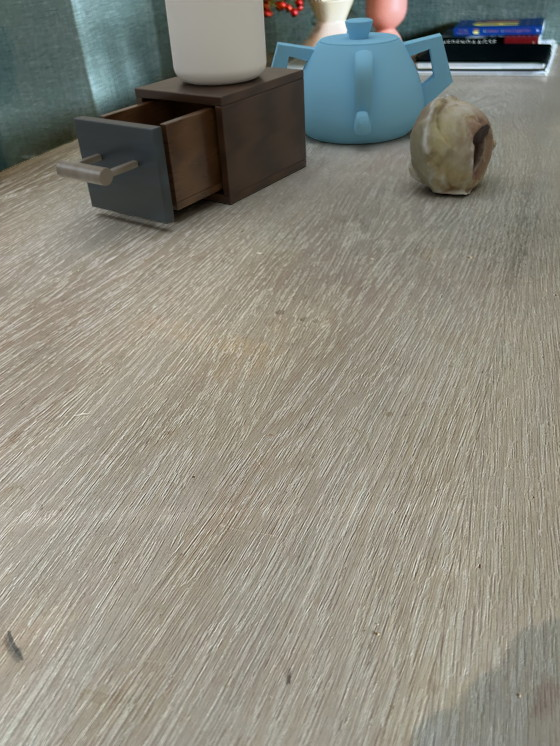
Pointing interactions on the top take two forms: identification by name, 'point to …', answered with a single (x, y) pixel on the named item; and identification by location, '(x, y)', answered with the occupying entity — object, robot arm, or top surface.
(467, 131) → the garlic bulb
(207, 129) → the drawer
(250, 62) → the cup
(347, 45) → the teapot
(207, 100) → the cabinet
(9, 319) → the top surface
